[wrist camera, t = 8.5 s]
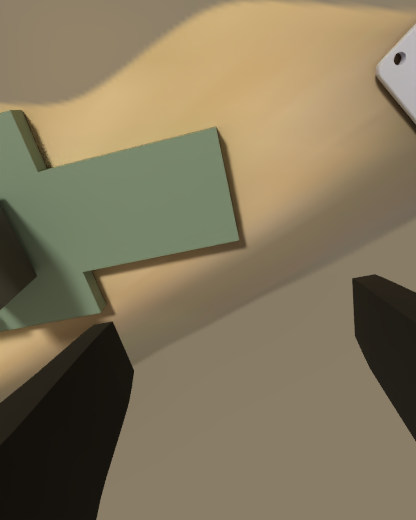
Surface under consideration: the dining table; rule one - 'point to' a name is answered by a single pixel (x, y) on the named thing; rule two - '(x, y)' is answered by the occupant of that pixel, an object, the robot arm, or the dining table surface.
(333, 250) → the dining table surface
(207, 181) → the green long flat piece
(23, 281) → the block ended dumbbell
